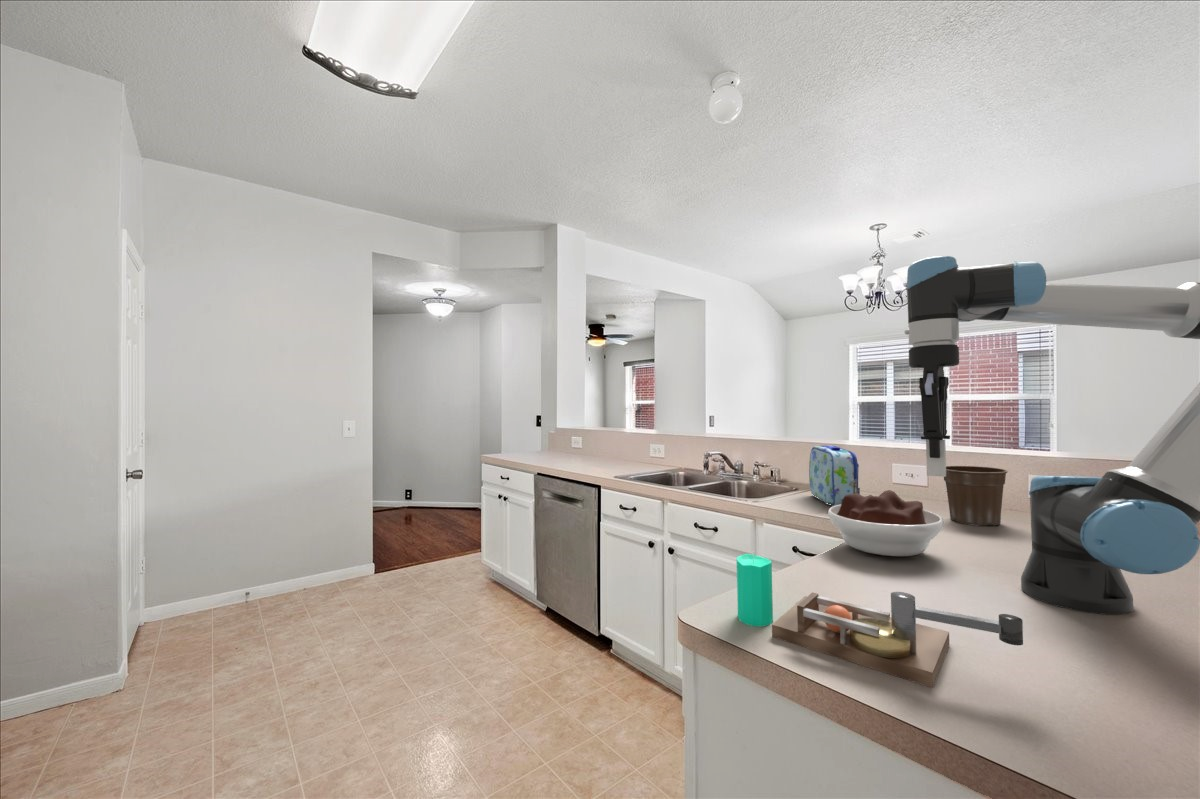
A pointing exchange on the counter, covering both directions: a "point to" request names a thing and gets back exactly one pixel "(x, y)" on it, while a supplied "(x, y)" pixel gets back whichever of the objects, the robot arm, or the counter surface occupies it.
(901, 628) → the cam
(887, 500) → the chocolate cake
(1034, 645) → the counter surface
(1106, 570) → the robot arm
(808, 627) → the stand
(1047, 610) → the counter surface
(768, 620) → the candle
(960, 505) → the plant pot
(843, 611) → the ball
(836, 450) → the lunch box
